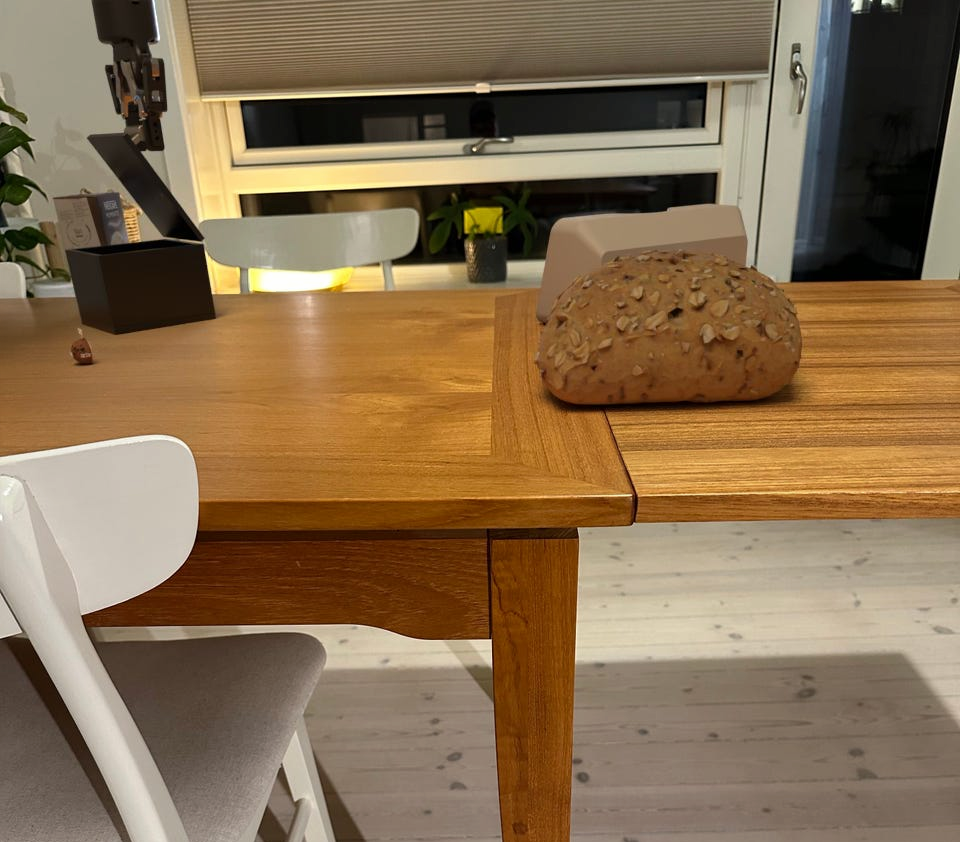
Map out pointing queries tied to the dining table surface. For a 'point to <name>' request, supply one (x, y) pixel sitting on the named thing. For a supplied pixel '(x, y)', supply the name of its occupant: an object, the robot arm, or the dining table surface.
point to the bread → (669, 332)
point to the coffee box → (91, 220)
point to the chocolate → (82, 350)
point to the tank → (636, 241)
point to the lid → (144, 182)
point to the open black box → (141, 285)
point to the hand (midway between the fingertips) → (147, 150)
